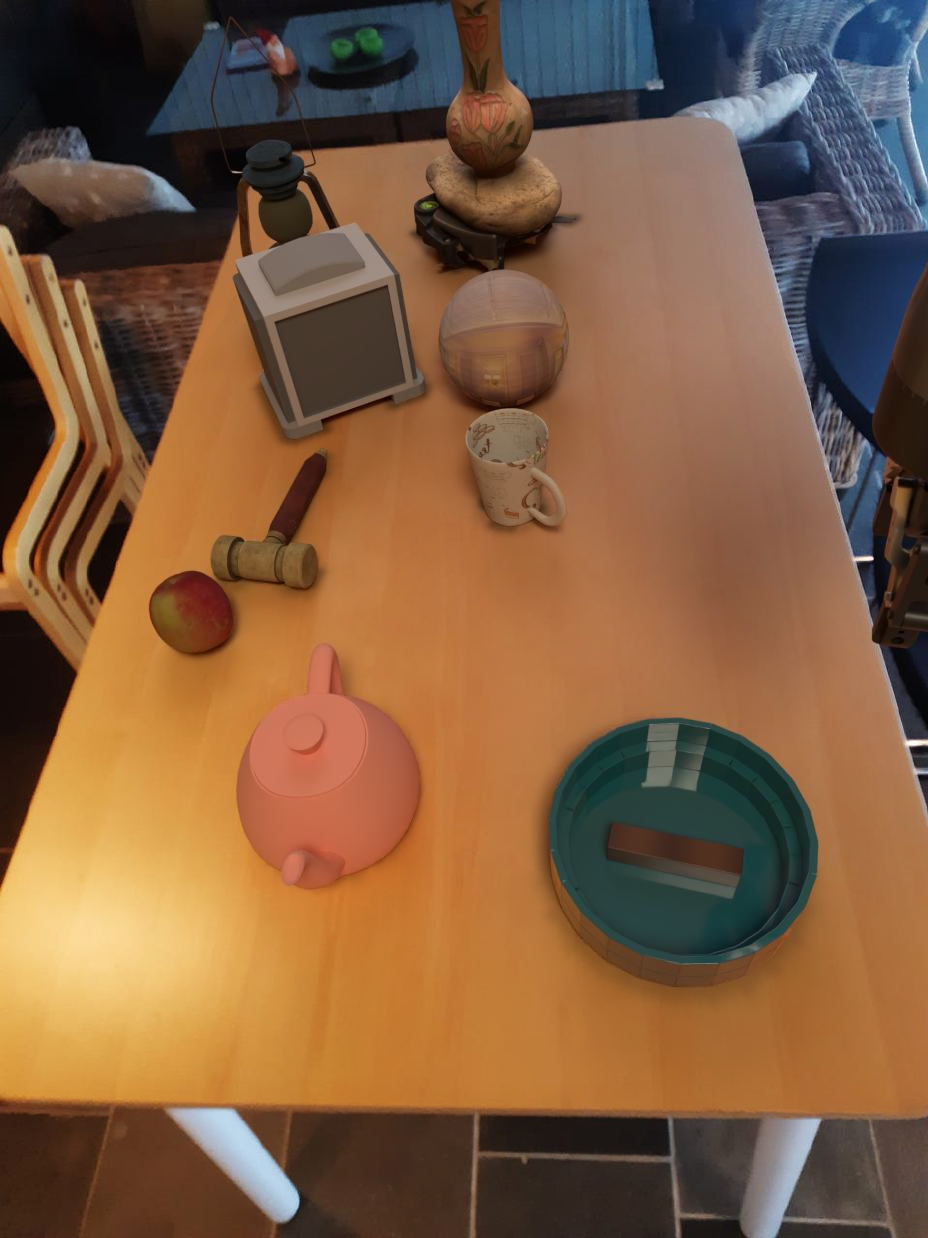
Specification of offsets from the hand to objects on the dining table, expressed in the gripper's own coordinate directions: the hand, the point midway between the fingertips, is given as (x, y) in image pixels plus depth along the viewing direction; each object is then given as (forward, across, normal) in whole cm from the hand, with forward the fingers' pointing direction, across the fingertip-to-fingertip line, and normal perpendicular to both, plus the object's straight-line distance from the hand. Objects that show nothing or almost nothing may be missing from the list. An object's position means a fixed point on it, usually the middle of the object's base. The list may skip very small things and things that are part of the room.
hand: (890, 584), depth 53 cm
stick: (+24, -10, +10) cm, 28 cm away
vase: (+26, +79, +48) cm, 96 cm away
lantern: (+25, +61, +70) cm, 96 cm away
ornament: (+25, +45, +37) cm, 64 cm away
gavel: (+25, +20, +55) cm, 63 cm away
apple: (+24, +3, +58) cm, 63 cm away
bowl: (+25, -10, +10) cm, 28 cm away
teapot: (+25, -12, +38) cm, 47 cm away
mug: (+25, +25, +30) cm, 47 cm away
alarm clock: (+25, +43, +58) cm, 76 cm away
